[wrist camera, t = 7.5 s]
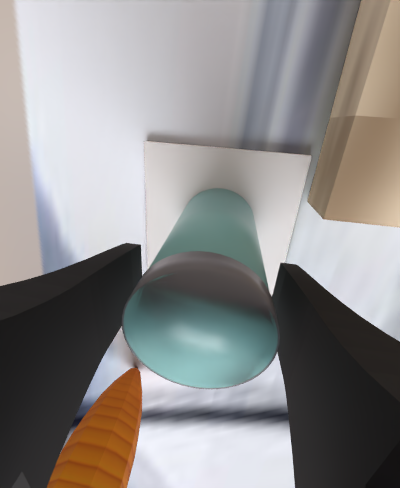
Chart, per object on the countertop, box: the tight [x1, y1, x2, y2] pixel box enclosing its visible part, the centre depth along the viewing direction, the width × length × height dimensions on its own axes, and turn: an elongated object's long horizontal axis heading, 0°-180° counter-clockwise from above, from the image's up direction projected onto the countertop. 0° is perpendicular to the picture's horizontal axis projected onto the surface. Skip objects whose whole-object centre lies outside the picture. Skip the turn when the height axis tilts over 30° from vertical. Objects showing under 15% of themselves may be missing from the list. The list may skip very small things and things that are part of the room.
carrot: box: [47, 367, 142, 488], centre depth 16 cm, size 5×5×15 cm
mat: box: [144, 141, 312, 295], centre depth 15 cm, size 9×9×1 cm
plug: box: [122, 188, 280, 389], centre depth 11 cm, size 4×4×9 cm
